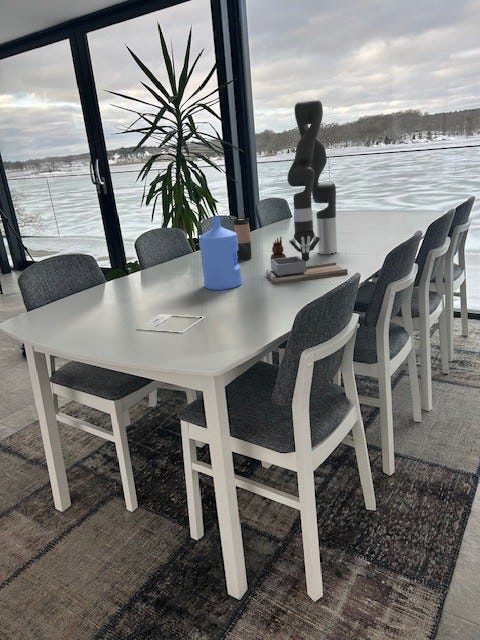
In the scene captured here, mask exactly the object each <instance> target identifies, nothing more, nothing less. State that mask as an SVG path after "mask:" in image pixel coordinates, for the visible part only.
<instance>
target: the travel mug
mask: <svg viewBox="0 0 480 640" xmlns="http://www.w3.org/2000/svg"><path fill="white" fill-rule="evenodd" d="M250 228H251V227H250V219H249V217H237V218H234V219H233V229H234V230H233V232H235V233H237V238H238V251H237V252H236V255H237V261H248V260H252V240H251V233H250V232H251V229H250Z"/></svg>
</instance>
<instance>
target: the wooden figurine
mask: <svg viewBox="0 0 480 640" xmlns="http://www.w3.org/2000/svg"><path fill="white" fill-rule="evenodd" d="M282 242H283V241H282V236H280V238H279V237H277V238H276V239H275V241H274V242H273V244H272V247H271V251H272V254H271V256H270V259H278V258H286V257H287V256H286V254H285V253H284V246H283V243H282Z"/></svg>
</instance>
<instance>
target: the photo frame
mask: <svg viewBox="0 0 480 640" xmlns="http://www.w3.org/2000/svg"><path fill="white" fill-rule="evenodd" d="M158 316H159V317H158ZM172 316H179V317H178V318H185V317H197V318H196V319H198V320H196V321H195V322H194V323H192V324H191V325H190V326H188V327H187V328H185V329H184V330H181V331H180V330H171V329H160V330H161V331H169V332H179V333H178V334H182V333H184V332H185V333H186V332H188V331H189V330H190V329H189V328H191V327H192V326H193V325H195V324H196V323H198V322H199V321H201V320H202V319H204V318H205V319H206V316H201V315H199V316H198V315H185V314H183V315H182V314H168V313H159V314H158V315H157V317H158V318H157V317H156V316H155V317H156V318H157V319H154V318H155V317H153V318H152V319H154V320H153V321H152V319H150V320H151V321H152V322H150V323H148V324H147V325H154V324H156V323H157V322H159V321H160V322H163V321H165V320H167V319H168V318H170V317H172ZM200 317H202V318H200ZM172 318H173V317H172ZM170 319H171V318H170ZM205 319H204V320H205ZM168 320H169V319H168ZM168 320H167V321H168ZM202 321H203V320H202ZM202 321H201V322H202ZM165 322H166V321H165ZM199 323H200V322H199ZM199 323H198V324H199ZM196 325H197V324H196ZM196 325H195V326H196ZM192 328H193V327H192ZM192 328H191V329H192ZM188 329H189V330H188ZM187 330H188V331H187ZM169 332H168V333H169ZM185 333H184V334H185Z"/></svg>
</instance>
